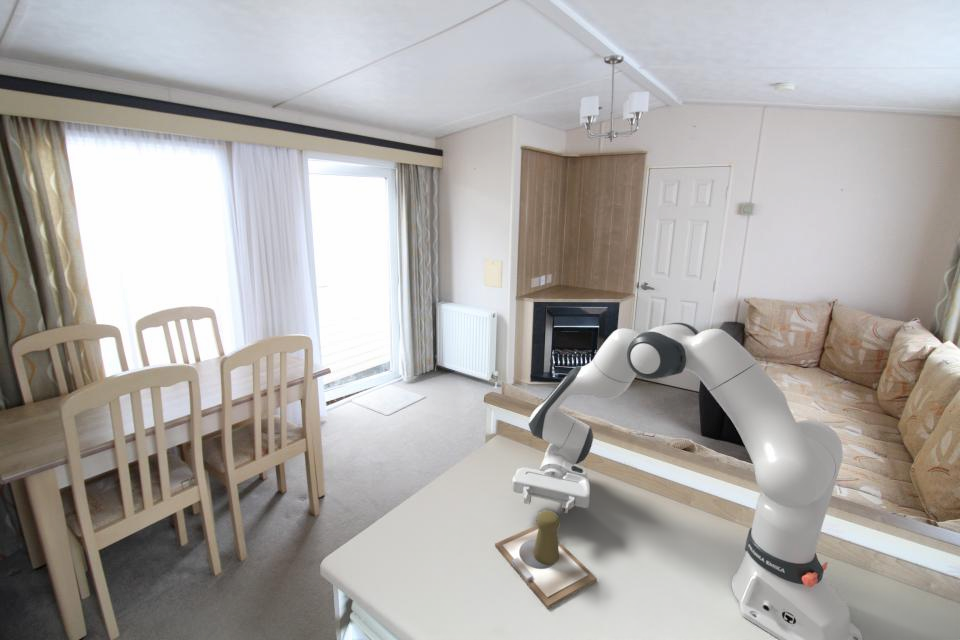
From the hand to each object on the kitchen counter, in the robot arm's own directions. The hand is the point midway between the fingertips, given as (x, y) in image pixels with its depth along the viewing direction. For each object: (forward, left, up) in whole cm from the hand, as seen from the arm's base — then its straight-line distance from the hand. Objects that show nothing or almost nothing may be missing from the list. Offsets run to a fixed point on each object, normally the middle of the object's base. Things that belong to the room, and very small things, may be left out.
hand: (545, 506), depth 111 cm
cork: (-6, +4, -8) cm, 11 cm away
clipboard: (-7, +6, -9) cm, 12 cm away
